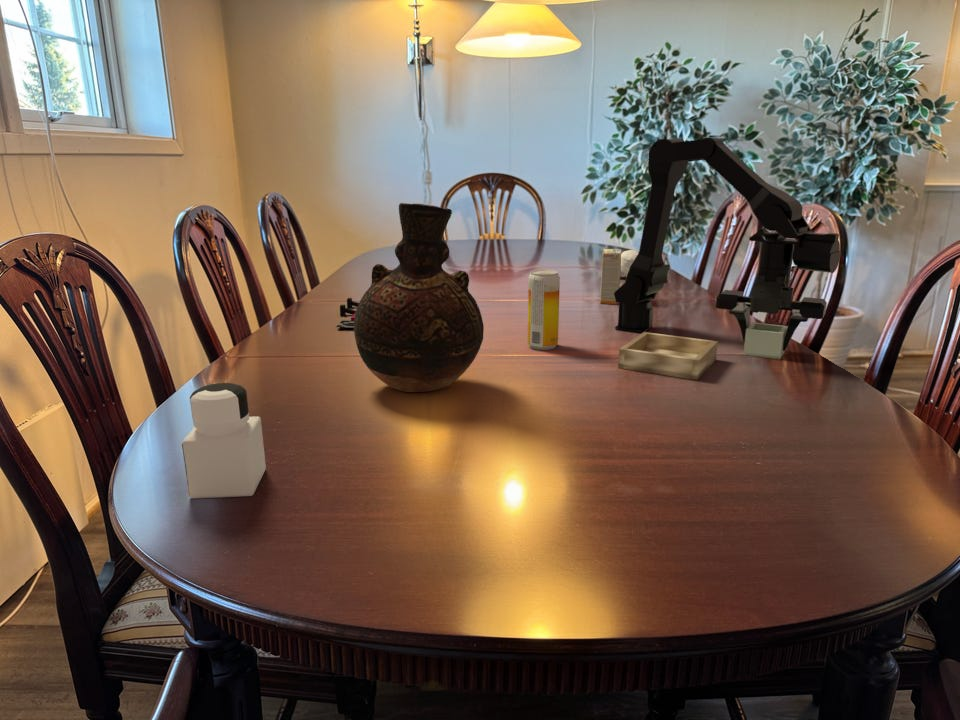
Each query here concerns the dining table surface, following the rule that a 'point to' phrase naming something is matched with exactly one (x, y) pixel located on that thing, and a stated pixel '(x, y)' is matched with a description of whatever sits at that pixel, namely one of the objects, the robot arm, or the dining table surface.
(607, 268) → the supplement box
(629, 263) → the penguin figurine
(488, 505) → the dining table surface
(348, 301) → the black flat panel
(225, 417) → the medicine bottle
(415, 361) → the ceramic vessel
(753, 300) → the robot arm
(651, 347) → the tray
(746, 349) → the sage crate
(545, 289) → the beer can
